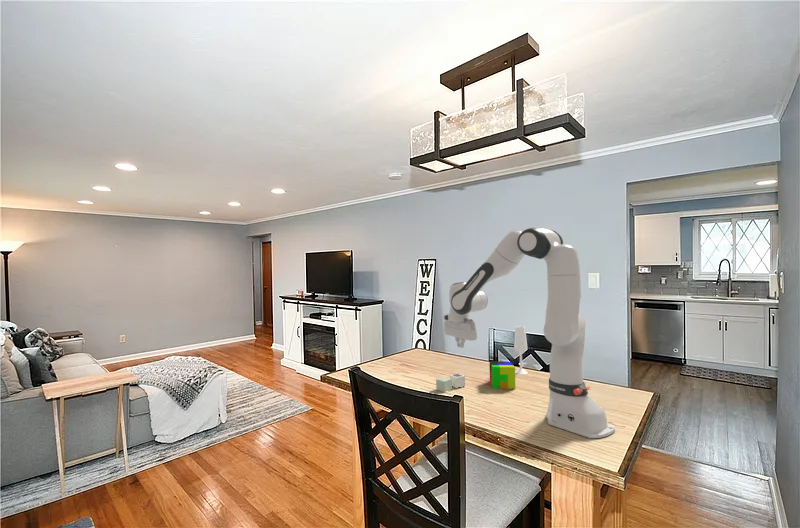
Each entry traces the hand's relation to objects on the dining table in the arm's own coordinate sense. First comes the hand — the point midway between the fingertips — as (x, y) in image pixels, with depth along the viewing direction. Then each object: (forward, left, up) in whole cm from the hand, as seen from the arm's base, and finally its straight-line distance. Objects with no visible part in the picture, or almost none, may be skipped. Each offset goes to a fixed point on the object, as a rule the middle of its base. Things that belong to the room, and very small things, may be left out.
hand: (460, 347), depth 169 cm
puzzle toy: (-7, -19, -19) cm, 28 cm away
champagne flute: (+3, -42, -19) cm, 46 cm away
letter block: (+3, 0, -14) cm, 14 cm away
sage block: (+2, +8, -19) cm, 21 cm away
